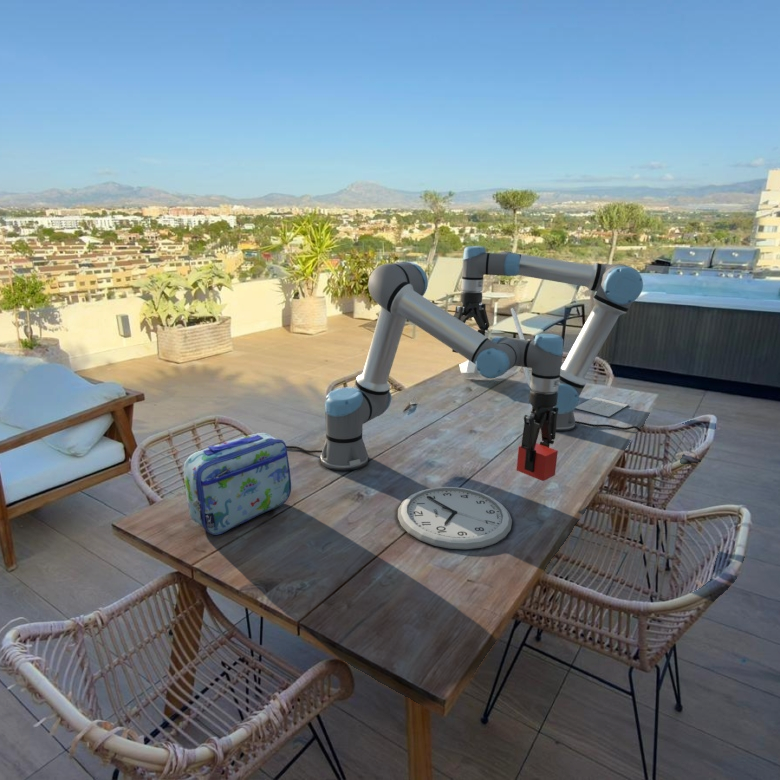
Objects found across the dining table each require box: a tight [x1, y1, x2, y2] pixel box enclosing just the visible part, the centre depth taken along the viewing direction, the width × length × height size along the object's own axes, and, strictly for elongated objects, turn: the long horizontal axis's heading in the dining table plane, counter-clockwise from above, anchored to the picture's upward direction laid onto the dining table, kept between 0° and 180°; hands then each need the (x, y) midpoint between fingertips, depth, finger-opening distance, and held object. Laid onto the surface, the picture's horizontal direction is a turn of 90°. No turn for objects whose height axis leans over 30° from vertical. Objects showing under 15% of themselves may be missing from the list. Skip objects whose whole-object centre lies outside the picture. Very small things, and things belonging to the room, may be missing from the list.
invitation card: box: [575, 396, 629, 418], centre depth 226 cm, size 21×1×15 cm
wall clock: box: [397, 486, 513, 550], centre depth 138 cm, size 30×2×30 cm
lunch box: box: [183, 432, 292, 536], centre depth 133 cm, size 26×11×21 cm, turn 134°
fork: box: [403, 396, 419, 412], centre depth 222 cm, size 3×16×2 cm, turn 160°
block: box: [516, 442, 559, 482], centre depth 150 cm, size 9×6×8 cm, turn 41°
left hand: (535, 466), depth 151 cm, fingers closed on block, 6 cm apart
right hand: (468, 349), depth 192 cm, fingers open, 13 cm apart
